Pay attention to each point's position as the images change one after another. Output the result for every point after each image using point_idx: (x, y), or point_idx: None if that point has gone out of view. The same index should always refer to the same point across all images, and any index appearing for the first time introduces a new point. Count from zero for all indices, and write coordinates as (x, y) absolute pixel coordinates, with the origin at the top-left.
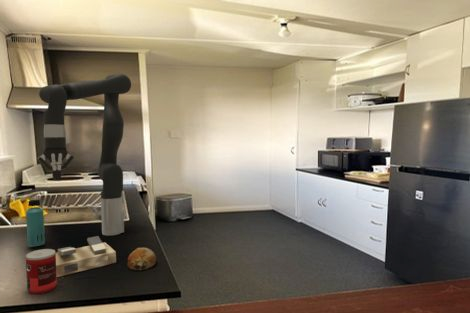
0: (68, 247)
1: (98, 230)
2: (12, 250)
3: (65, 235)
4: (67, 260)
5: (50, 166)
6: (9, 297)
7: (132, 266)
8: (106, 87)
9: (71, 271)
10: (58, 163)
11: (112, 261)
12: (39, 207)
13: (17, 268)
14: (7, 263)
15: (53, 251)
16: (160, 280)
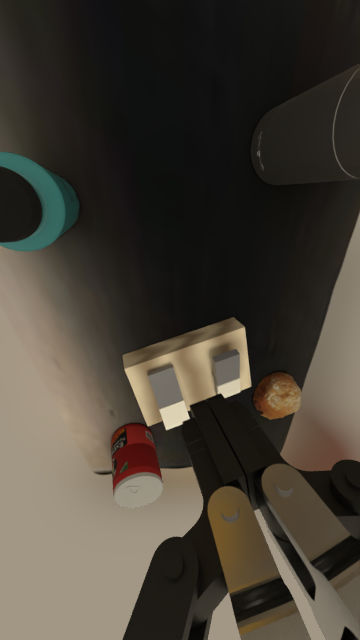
0: (171, 377)
1: (247, 77)
2: None
3: (129, 80)
4: None
5: (212, 608)
6: (90, 455)
7: (258, 410)
8: None
9: None
10: (329, 635)
11: None
12: (35, 188)
13: (57, 356)
14: (15, 319)
15: (159, 485)
16: (275, 436)
